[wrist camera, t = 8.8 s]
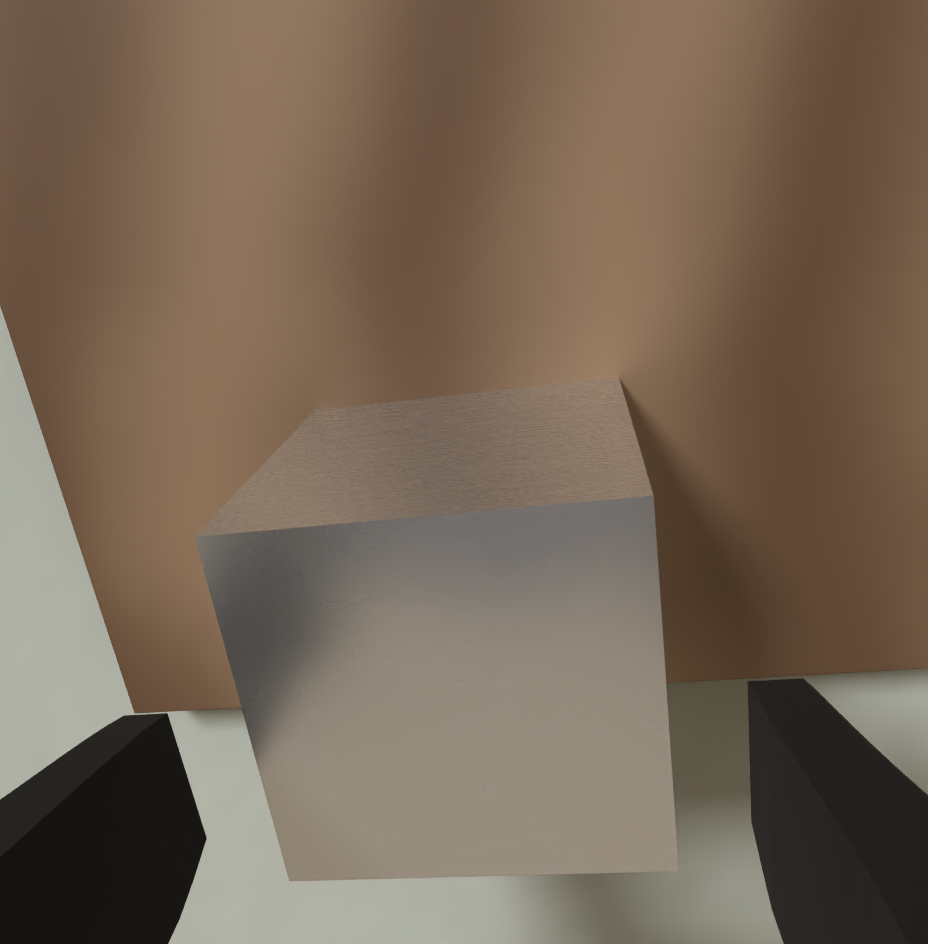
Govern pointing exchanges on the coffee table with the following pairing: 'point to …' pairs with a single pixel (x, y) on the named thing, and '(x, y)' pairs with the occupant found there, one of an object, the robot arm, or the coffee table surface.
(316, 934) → the coffee table surface
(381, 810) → the brushed aluminum cube
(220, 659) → the walnut board
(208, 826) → the coffee table surface
